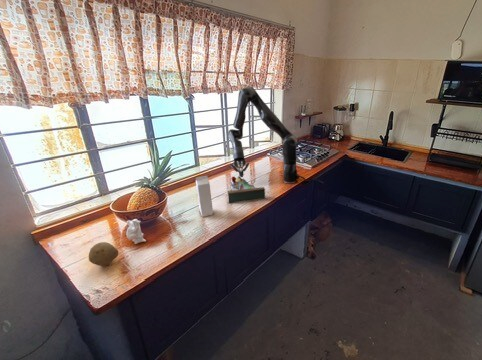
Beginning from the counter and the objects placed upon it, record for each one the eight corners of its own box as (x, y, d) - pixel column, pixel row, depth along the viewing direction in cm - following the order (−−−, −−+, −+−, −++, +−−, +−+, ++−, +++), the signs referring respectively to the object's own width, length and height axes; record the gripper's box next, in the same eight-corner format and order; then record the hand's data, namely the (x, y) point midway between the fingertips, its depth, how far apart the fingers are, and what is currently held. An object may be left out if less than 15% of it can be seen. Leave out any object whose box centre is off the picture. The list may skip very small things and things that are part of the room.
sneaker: (253, 198, 153) (252, 184, 149) (228, 190, 163) (226, 177, 159) (260, 193, 159) (260, 179, 155) (235, 186, 169) (234, 173, 165)
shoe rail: (264, 196, 155) (263, 187, 152) (265, 198, 153) (264, 188, 150) (228, 201, 149) (227, 191, 146) (229, 203, 147) (228, 193, 144)
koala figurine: (151, 239, 114) (145, 217, 109) (137, 247, 108) (131, 224, 103) (139, 234, 117) (133, 212, 112) (125, 242, 111) (118, 219, 107)
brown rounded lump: (86, 268, 96) (78, 247, 92) (109, 254, 104) (102, 234, 100) (102, 274, 93) (94, 253, 89) (124, 259, 101) (118, 240, 97)
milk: (213, 214, 135) (209, 177, 126) (202, 217, 132) (196, 179, 123) (210, 209, 140) (206, 173, 131) (199, 212, 137) (194, 175, 128)
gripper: (228, 152, 167) (232, 175, 162) (248, 151, 171) (251, 173, 165) (228, 157, 174) (231, 179, 168) (247, 156, 178) (250, 177, 172)
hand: (241, 176), depth 167 cm, fingers closed
